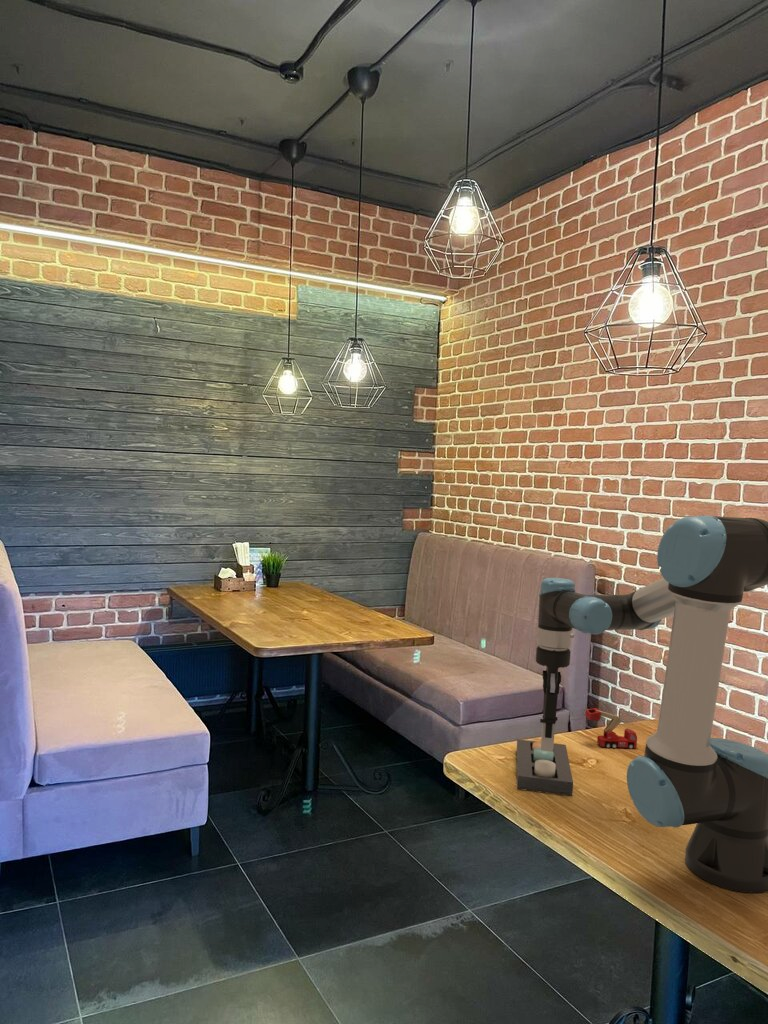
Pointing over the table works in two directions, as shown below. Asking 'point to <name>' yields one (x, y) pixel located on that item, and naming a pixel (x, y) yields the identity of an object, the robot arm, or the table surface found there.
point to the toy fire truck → (609, 735)
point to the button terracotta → (536, 745)
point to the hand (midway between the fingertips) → (546, 749)
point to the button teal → (542, 755)
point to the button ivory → (544, 768)
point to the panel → (544, 784)
